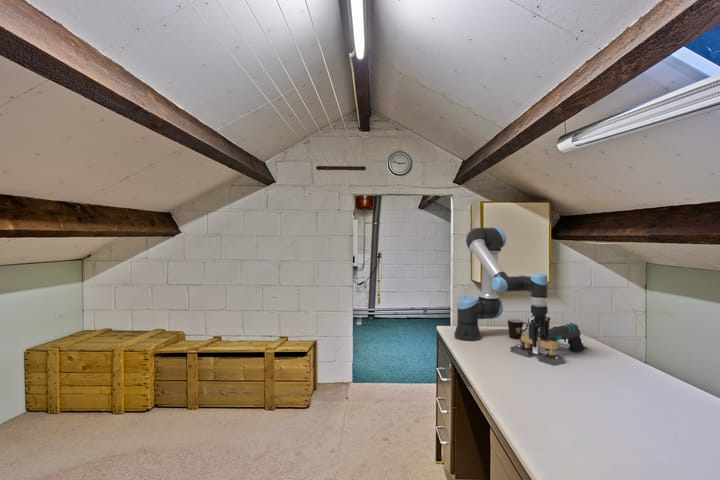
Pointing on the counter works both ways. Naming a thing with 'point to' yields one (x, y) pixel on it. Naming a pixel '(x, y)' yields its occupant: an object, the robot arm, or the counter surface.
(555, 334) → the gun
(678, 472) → the counter surface
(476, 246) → the robot arm
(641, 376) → the counter surface
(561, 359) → the chain end
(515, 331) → the coffee mug
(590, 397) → the counter surface
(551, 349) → the gold bar
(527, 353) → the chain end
